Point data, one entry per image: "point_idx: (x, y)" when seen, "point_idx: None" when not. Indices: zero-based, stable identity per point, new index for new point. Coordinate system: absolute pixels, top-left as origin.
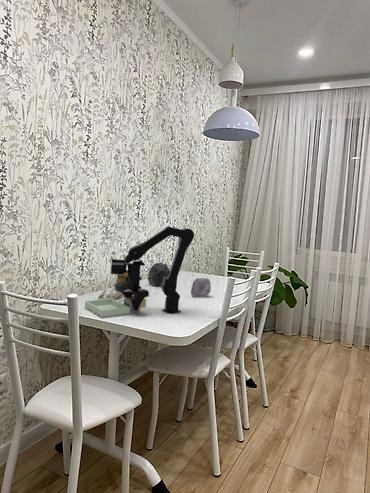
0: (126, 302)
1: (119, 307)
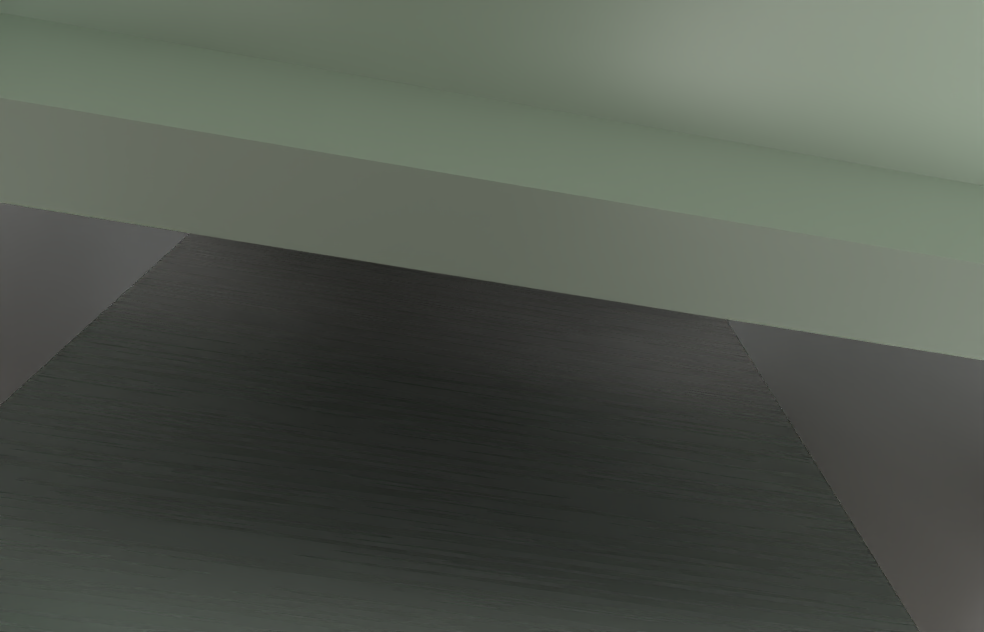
0: (508, 556)
1: (893, 185)
